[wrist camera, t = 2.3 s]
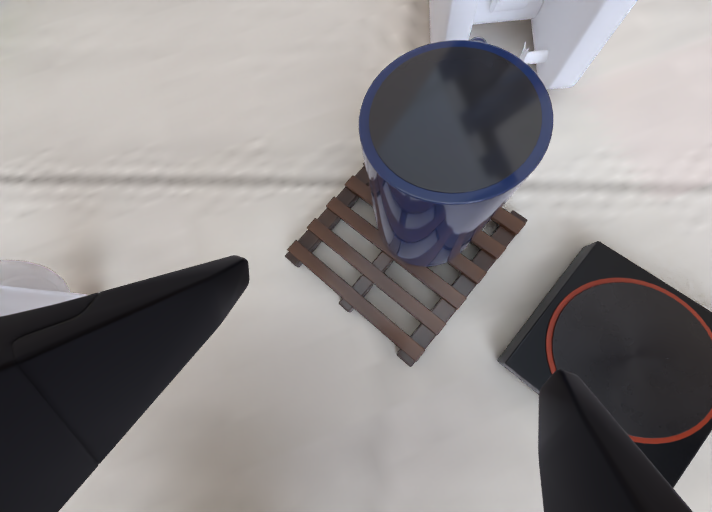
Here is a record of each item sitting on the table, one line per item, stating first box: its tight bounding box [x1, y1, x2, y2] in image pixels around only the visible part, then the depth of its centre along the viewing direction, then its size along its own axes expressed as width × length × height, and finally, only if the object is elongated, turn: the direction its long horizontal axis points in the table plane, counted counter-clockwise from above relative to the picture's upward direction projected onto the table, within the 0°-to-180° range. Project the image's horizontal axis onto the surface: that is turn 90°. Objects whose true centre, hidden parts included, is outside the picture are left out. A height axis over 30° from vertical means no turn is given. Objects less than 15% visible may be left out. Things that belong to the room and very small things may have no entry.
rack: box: [285, 162, 527, 367], centre depth 22 cm, size 13×12×1 cm
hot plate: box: [497, 241, 712, 488], centre depth 18 cm, size 10×10×2 cm
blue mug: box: [359, 37, 553, 267], centre depth 16 cm, size 10×7×11 cm
